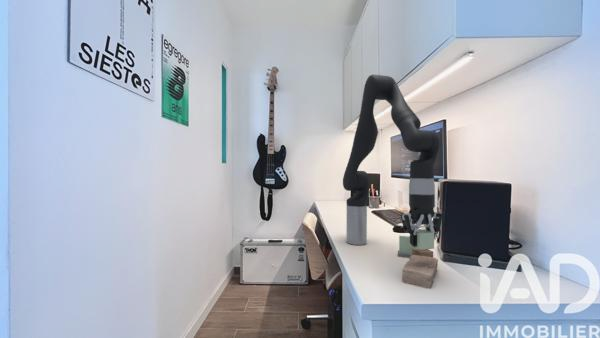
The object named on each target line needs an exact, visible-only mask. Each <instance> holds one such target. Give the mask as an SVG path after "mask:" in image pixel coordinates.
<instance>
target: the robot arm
mask: <svg viewBox="0 0 600 338" xmlns="http://www.w3.org/2000/svg"><path fill="white" fill-rule="evenodd" d="M363 88H364V89H363V94H362V100H361V108H360V113H359V116H358V122H357V125H356V129H355V133H354V138H353V142H352V147H351V151H350V154H349V158H348V162H347V165H346V168H345V171H344V174H343V177H342V186H343V189H344V190H346V191H349V192H355V194H354V195H353V196H351V197H349V198H346V233H345V234H346V235H345V236H346V243H347V244H349V245H354V246H355V245H356V246H362V245H366V244H368V241H367V237H368V236H367V234H368V226H367V225H368V210H367V208H368V200H369V187H370V186H369V185H370V179H369V175H368V173H367V171H365V170H359V167H360V165H361V164H362V162H363V161H364V160H365V159H366V158H367V157H368V156H369V155H370V154H371V153H372V151H373V150H374V148H375V146H376V143H377V139H378V135H379V130H378V125H377V122H376V119H375V115H374V109H375V103H376V100H379V101H386V102H387V103H388V104H390V105H391V109H390V118H391V119H392V121H393V123H394V125H395V126H396V128H397V129H398V130H399V132H400V136H401V139H402V143H403V145H404V147H405V148H406V149H407V150H408V151H410V152H413V153H419V154H420V155H419V157H418V159H414V160H411V162H410V164H409V182H408V205H409V211H408V212H407V213H401V214H400V218H401V223H402V228H403V232H405V233H408V234H409V236H410V244H411V245H412V246H414V247H417V235H416V234H417V232H418V229H420V228H421V226H422V225H423V226H424V227H425V230H427V231H430V232H433V233H434V234H435V233H439V232H440V230H441V225H442V219H443V213H440V212H436V211H435V210H434V208H435V207H436V184H435V172H434V171H435V164H436V161H437V156H438V153H439V149H440V144H441V141H440V137H439V135H438V134H437V132H435V131H433V130H428V129H427V130H425V129H420V128H421V126H422V125H421V124H422V123H421V120H420V118H419V117H418V116H417V114H416V113H415V112H414V111H413V110H412V108H411V107H410V106H409V105H408V103H407V101H406V100H405V97H404V96H403V94H402V91H401V90H400V87H399V85H398V83H397V82H396V81H395V79H394V78H393V77H392V76H390V75H381V74H371V75H369V76H368V77H367V78H366V80H365V84H364V87H363Z"/></svg>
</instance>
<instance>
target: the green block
mask: <svg viewBox="0 0 600 338" xmlns="http://www.w3.org/2000/svg"><path fill="white" fill-rule="evenodd" d="M416 235H417V247H415V248H417V249H420V250H423V249H429V250H434V249H435V233H433V232H430V231H427V230H426V229H423V228H421V229H420V228H419V229H418V232H417V234H416ZM410 245H411V244H410ZM411 246H412V245H411ZM413 247H414V246H413Z"/></svg>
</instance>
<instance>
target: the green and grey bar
mask: <svg viewBox="0 0 600 338" xmlns="http://www.w3.org/2000/svg"><path fill="white" fill-rule="evenodd" d="M398 241H399V242H398V245H399V249H398V251H397V257H399V258H408V259H410V257H411V255H412V248H415V247H413V246H411V245H410V235H400V234H399V236H398Z"/></svg>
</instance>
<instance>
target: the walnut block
mask: <svg viewBox="0 0 600 338" xmlns="http://www.w3.org/2000/svg"><path fill="white" fill-rule="evenodd" d="M412 255H419V256H427V257H433V258H434V251H433V250H432V249H423V250H420V249H417V248H412Z"/></svg>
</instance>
